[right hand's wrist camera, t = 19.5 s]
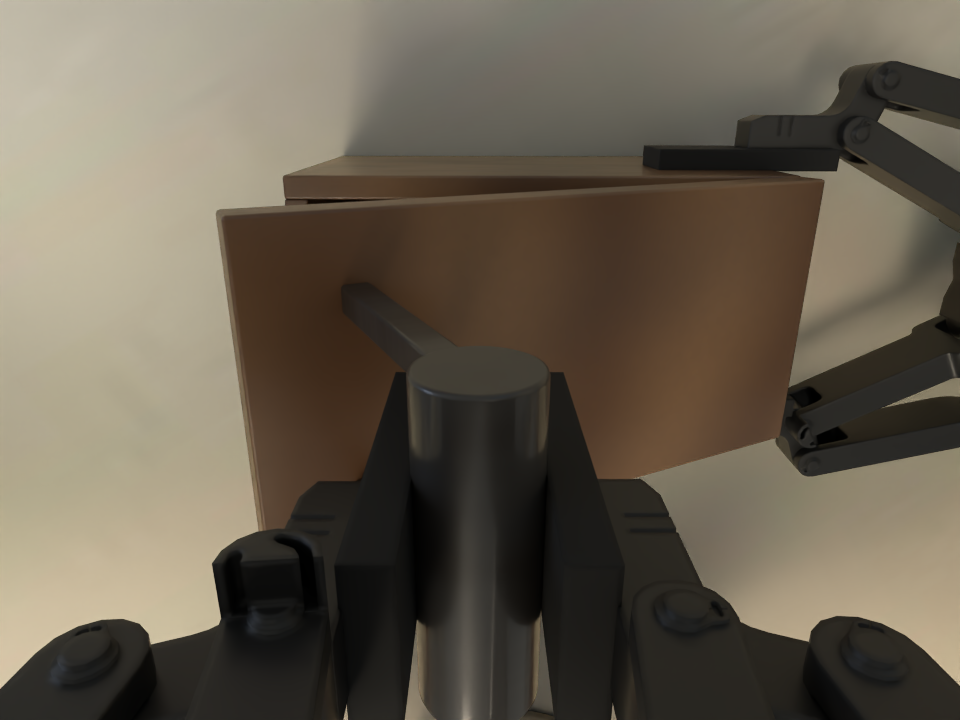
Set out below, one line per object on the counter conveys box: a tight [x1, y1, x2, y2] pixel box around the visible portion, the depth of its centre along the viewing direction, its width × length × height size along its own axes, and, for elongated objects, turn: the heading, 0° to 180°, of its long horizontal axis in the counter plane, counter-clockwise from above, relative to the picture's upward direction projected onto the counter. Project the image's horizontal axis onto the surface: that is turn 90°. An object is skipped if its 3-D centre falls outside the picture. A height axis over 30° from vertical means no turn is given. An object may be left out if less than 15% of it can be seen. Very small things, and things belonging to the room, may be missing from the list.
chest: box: [283, 156, 800, 206], centre depth 29 cm, size 17×9×10 cm, turn 90°
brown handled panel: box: [216, 177, 824, 720], centre depth 16 cm, size 18×9×9 cm, turn 89°
